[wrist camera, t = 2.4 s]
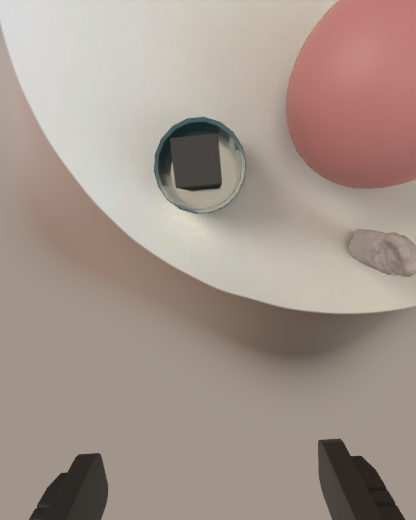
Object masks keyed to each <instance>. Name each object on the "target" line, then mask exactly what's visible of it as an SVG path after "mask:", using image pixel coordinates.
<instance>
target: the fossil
mask: <svg viewBox="0 0 416 520" xmlns="http://www.w3.org/2000/svg"><path fill="white" fill-rule="evenodd" d="M349 253H350V255H351V256H352V257H353V258H355V259H357V260H358V261H359V262H361V263H363V264H365V265H367V266H369V267H372V268H374V269H377V270H379V271H381V272H383V273H386V274H389V275H400V276H407V277H410V276H412V275H414V274H415V273H416V246H415V244H414V243H413V242H412V241H410V240H409V239H408V238H407V237H406V236H403V235H399V234H397V233H388V234H387V233H383V232H376V231H373V230H356V232H355V234H354V235H353V237H352V241H351V242H350V245H349Z"/></svg>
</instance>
